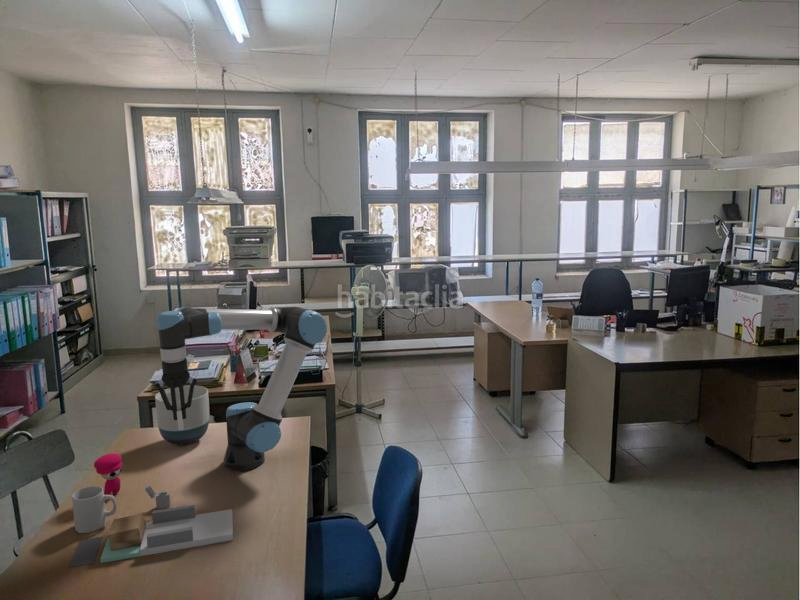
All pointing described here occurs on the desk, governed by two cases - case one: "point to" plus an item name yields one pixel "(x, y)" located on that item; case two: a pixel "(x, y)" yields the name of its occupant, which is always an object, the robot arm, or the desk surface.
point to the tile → (119, 553)
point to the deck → (185, 529)
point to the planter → (194, 420)
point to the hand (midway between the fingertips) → (181, 428)
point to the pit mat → (86, 552)
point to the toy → (110, 472)
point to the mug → (91, 509)
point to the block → (126, 532)
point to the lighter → (159, 497)
